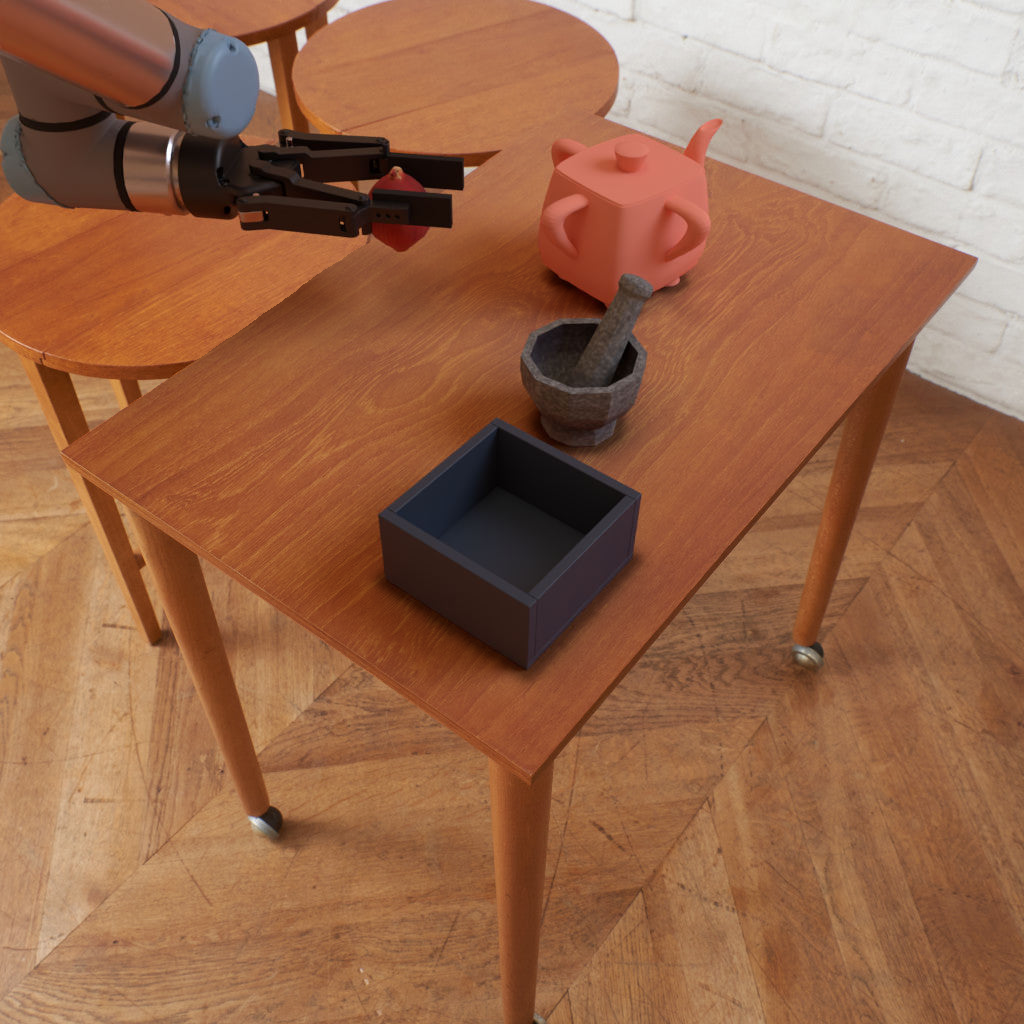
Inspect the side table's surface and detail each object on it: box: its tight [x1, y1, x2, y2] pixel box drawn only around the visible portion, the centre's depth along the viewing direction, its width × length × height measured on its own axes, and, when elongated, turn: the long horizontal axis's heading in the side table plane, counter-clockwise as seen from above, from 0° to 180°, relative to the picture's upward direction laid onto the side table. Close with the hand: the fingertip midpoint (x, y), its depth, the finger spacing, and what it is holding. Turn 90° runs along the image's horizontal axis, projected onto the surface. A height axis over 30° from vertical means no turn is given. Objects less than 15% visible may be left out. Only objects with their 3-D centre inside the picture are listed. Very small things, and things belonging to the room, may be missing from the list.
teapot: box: [537, 118, 724, 309], centre depth 96 cm, size 17×16×13 cm
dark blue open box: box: [377, 416, 643, 671], centre depth 72 cm, size 13×13×7 cm
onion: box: [367, 166, 431, 253], centre depth 90 cm, size 6×6×8 cm
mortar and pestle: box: [519, 273, 654, 448], centre depth 82 cm, size 11×9×12 cm
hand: (457, 192), depth 88 cm, fingers closed on onion, 6 cm apart
